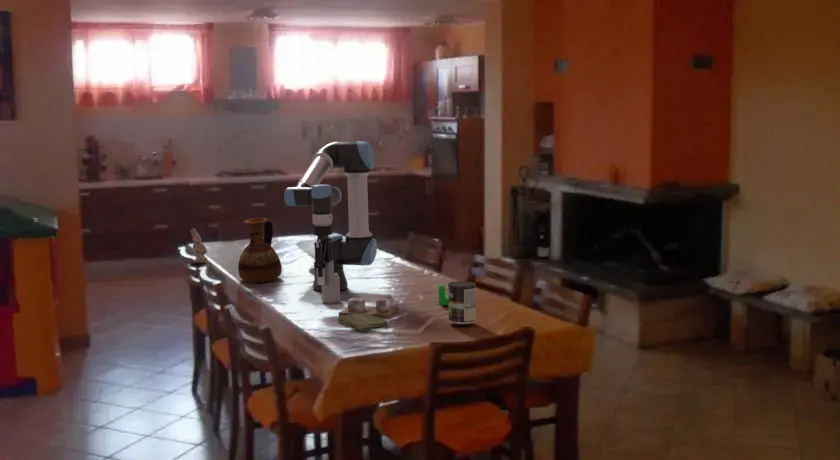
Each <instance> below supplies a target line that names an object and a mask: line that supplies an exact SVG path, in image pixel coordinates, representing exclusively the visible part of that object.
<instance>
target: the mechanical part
mask: <svg viewBox="0 0 840 460" xmlns="http://www.w3.org/2000/svg"><path fill="white" fill-rule="evenodd" d="M438 305H439V306H449V294H446V285H445V284H441V283H440V284H439V285H438Z"/></svg>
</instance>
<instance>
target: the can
mask: <svg viewBox="0 0 840 460" xmlns="http://www.w3.org/2000/svg"><path fill="white" fill-rule="evenodd" d="M321 300H322V302H323V303H324V304H328V305H329V304H337V303H339V302H340V301H341V290H340V277H339V276H338V273H334V283H333V284H331V285H330V286H323V285H322V290H321Z"/></svg>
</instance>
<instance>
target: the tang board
mask: <svg viewBox="0 0 840 460" xmlns="http://www.w3.org/2000/svg"><path fill="white" fill-rule="evenodd" d="M399 309H400V307H399V306H396V307H395V306H387V299H379V298H378V299H377V300H375V306H372V305H370V306H368V305H366V298H364V297H351V298H349V299H347V307H345V308H344V309H342V310H340V311H339V312H338V317H339V316H342V315H354V314H360V313H368V314H371V315H373V316H376V317H381V318H383V319H385V320H386V319H388V320H389V319H390V318H392V317H393V316H394V315H395V314H397V313H398V312H399Z"/></svg>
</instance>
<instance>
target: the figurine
mask: <svg viewBox="0 0 840 460" xmlns="http://www.w3.org/2000/svg"><path fill="white" fill-rule="evenodd" d="M190 234H191V236H192V241H193V244H192V252H193V254H194V256H195V259H194V260H193V263H197V264H198V263H199V264H204V263H208V258H207V257H206V256H205V255H206V254H208V250H207V247H206V246H205V244H204V243H203V242H202V238H201V236H200V234H199V233H198V231H197V230H196V228H192V229H190Z"/></svg>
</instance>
